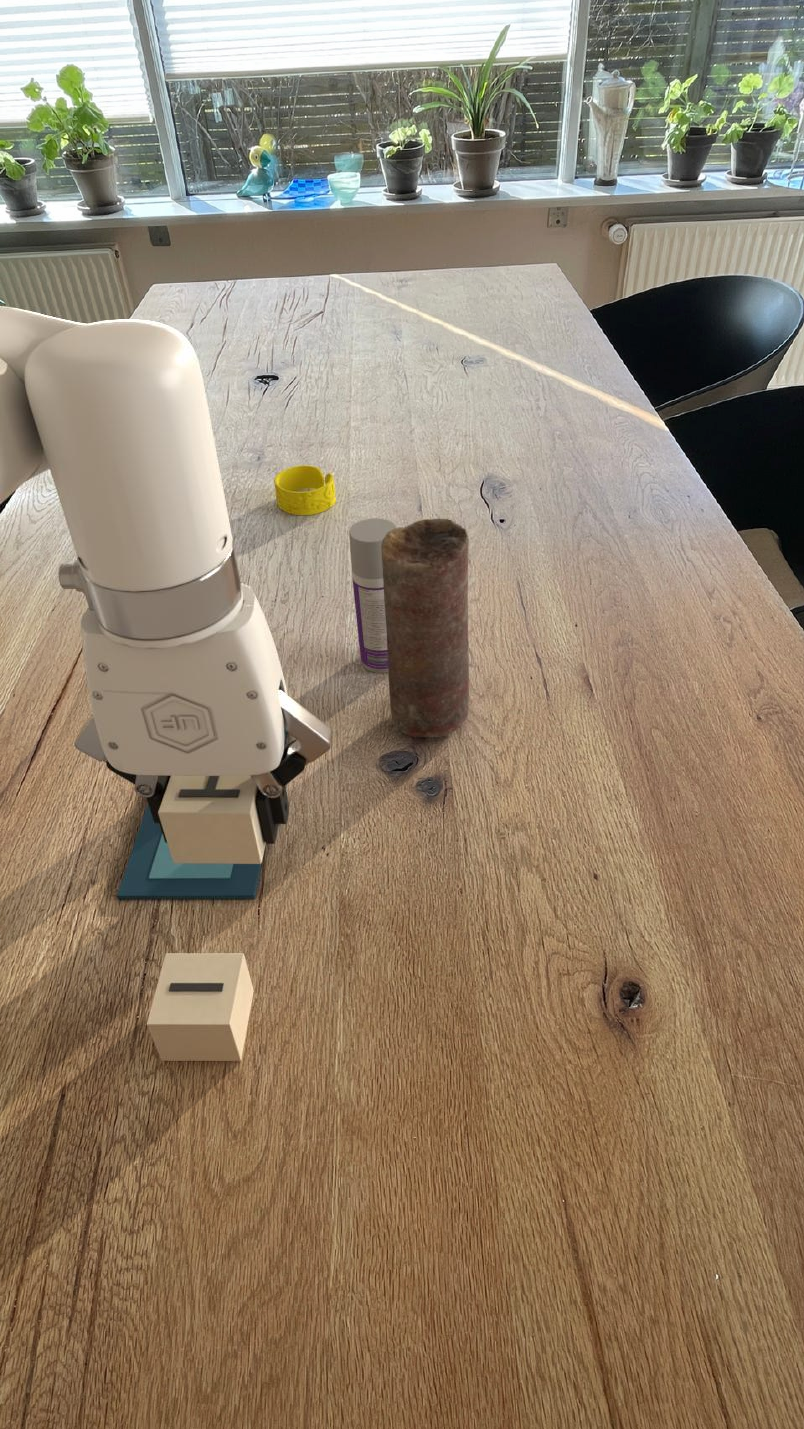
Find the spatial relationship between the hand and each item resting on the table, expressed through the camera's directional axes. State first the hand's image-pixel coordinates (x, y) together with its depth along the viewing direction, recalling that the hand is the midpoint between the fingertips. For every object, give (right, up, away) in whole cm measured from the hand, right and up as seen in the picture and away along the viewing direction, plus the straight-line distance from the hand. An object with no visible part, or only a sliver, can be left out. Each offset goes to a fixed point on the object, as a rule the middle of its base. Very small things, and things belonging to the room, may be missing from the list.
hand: (224, 824), depth 60 cm
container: (+9, +13, +38) cm, 41 cm away
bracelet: (-1, +35, +65) cm, 74 cm away
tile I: (-2, -15, +6) cm, 16 cm away
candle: (+14, +6, +30) cm, 33 cm away
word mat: (-6, -1, +23) cm, 23 cm away
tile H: (0, 0, 0) cm, 0 cm away
